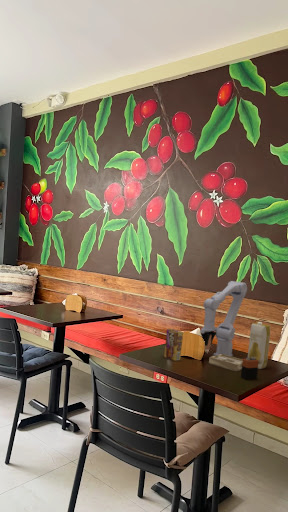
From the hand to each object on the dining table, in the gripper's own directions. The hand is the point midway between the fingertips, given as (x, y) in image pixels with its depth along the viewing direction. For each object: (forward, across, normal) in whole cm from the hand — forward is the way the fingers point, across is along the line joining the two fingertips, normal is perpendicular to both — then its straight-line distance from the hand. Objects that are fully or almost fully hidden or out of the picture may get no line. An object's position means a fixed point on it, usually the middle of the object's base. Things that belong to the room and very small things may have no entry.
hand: (207, 344), depth 232 cm
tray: (+7, +2, +15) cm, 17 cm away
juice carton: (+8, -11, +25) cm, 28 cm away
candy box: (+8, +18, -10) cm, 22 cm away
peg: (+2, 0, 0) cm, 2 cm away
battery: (+8, +13, +32) cm, 35 cm away
